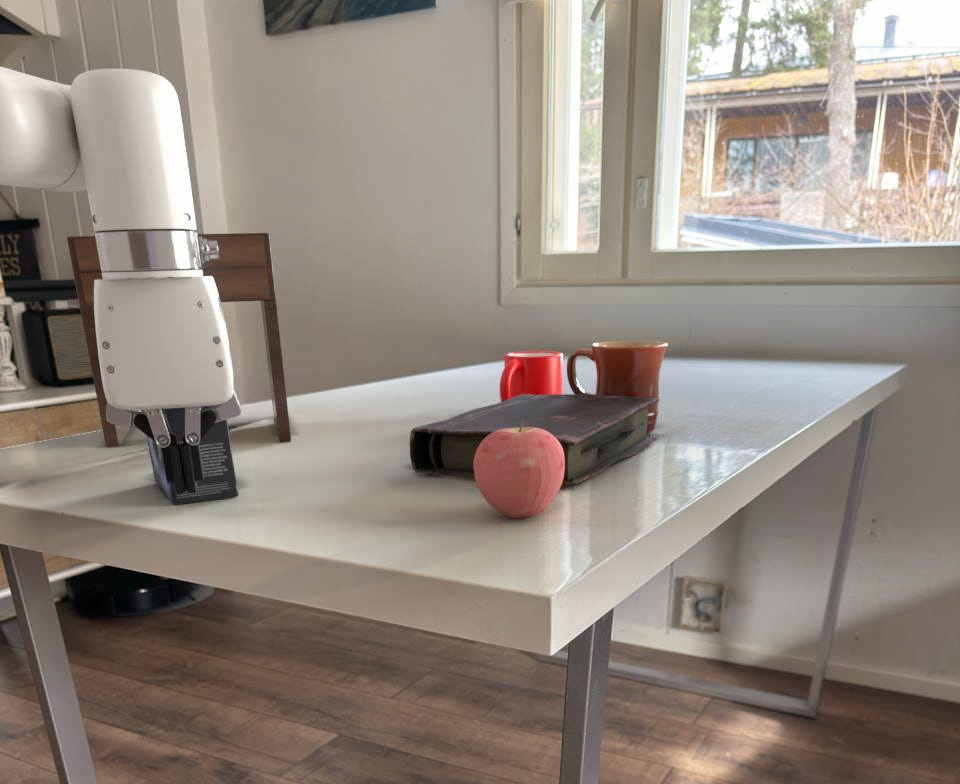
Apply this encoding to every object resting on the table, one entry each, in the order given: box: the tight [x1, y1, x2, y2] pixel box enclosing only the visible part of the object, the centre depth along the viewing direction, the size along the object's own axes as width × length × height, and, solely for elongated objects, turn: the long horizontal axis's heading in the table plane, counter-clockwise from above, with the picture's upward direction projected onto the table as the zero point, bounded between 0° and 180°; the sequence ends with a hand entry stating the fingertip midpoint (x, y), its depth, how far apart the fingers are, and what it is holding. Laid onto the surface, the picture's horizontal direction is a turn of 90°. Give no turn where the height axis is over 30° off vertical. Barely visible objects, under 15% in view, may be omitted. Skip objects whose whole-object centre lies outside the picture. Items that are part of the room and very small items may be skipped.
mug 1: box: [499, 350, 564, 402], centre depth 120 cm, size 8×12×8 cm, turn 149°
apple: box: [473, 419, 565, 519], centre depth 73 cm, size 7×7×8 cm
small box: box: [141, 405, 240, 506], centre depth 84 cm, size 11×6×10 cm, turn 27°
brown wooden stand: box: [66, 232, 292, 448], centre depth 107 cm, size 14×21×23 cm
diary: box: [409, 393, 660, 486], centre depth 94 cm, size 19×25×5 cm
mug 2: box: [566, 340, 669, 435], centre depth 106 cm, size 12×9×10 cm
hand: (187, 489), depth 77 cm, fingers closed
